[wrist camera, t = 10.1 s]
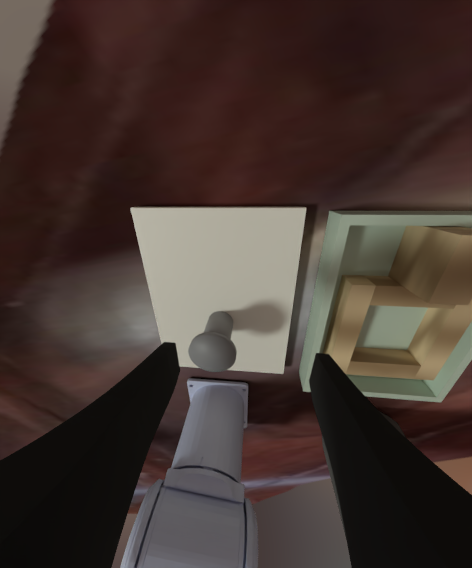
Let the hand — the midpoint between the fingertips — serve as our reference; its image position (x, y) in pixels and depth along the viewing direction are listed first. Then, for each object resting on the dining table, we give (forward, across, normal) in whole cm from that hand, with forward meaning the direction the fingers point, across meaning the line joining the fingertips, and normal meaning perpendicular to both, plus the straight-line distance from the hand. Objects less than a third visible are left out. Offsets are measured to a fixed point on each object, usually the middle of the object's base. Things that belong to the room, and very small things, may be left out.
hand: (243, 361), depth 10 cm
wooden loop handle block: (+9, -13, +1) cm, 16 cm away
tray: (+10, -13, +3) cm, 17 cm away
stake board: (+10, +3, +2) cm, 11 cm away
